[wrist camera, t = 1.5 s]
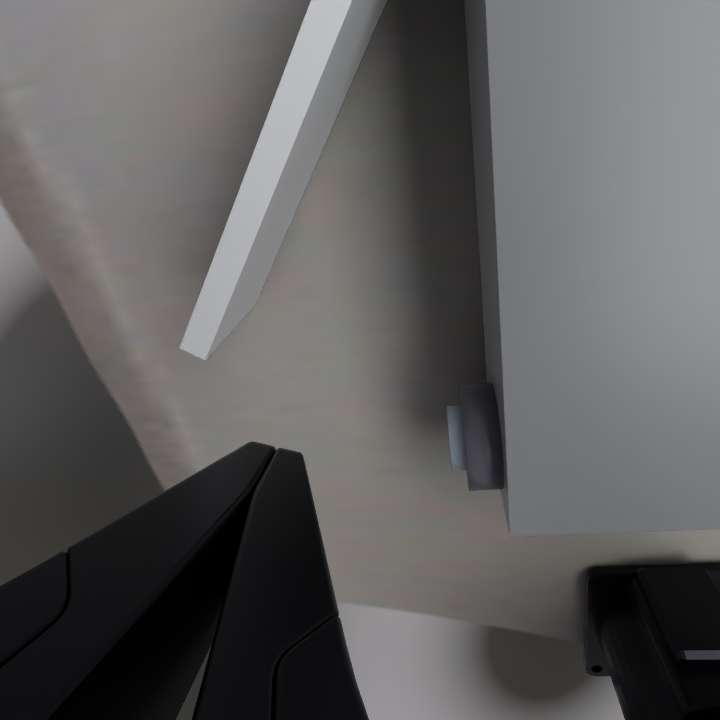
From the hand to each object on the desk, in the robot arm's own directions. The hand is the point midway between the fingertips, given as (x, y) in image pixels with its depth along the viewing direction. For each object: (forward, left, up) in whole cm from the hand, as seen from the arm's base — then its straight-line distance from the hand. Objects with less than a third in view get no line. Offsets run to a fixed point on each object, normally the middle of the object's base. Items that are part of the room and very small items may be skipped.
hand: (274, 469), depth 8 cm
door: (+5, 0, -12) cm, 13 cm away
